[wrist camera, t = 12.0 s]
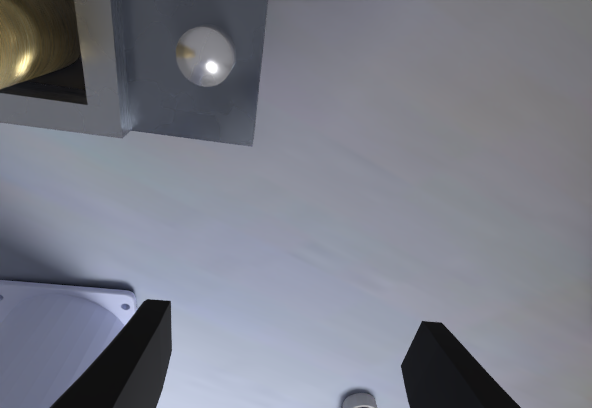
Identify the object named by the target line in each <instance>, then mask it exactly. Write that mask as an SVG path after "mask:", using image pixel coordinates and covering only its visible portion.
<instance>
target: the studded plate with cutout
mask: <svg viewBox="0 0 592 408" xmlns="http://www.w3.org/2000/svg"><path fill="white" fill-rule="evenodd" d="M74 3H75V11H76V18H77V26H78V34H79V41H80V49H81V57H82V65H83V72H84V80H85V88H86V90H82V89H76V88H69V87H62V86H55V85H48V84H41V83H34V82H27V81H24V82H21V83H18V84H15V85H12V86H9V87H6V88H3V89H0V123H8V124H16V125H24V126H31V127H39V128H47V129H54V130H62V131H70V132H77V133H85V134H93V135H101V136H108V137H116V138H123V137H124V136H125V135H126V134H127V133H129V132H130V131H139V132H146V133H154V134H161V135H169V136H176V137H184V138H191V139H199V140H206V141H214V142H222V143H229V144H237V145H244V146H252V145H253V139H254V130H255V120H256V111H257V101H258V91H259V82H260V72H261V63H262V53H263V44H264V34H265V25H266V15H267V5H268V0H74Z"/></svg>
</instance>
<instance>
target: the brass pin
mask: <svg viewBox="0 0 592 408" xmlns="http://www.w3.org/2000/svg"><path fill="white" fill-rule="evenodd" d="M80 55H81V49H80V41H79V34H78V26H77V18H76V11H75V3H74V0H0V89H3V88H6V87H9V86H12V85H15V84H18V83H21V82H24V81H27V80H30V79H33V78H36V77H39V76H42V75H45V74H48V73H51V72H53V71H56V70H59V69H62V68H65V67H68V66H70V65H71V64H73V63H74V62H75V61H76V60H77V59H78V58H79V57H80Z"/></svg>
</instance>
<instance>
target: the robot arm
mask: <svg viewBox="0 0 592 408" xmlns="http://www.w3.org/2000/svg"><path fill="white" fill-rule="evenodd" d="M126 304H128V305H126ZM171 352H172V340H171V301H163V300H150V299H147V300H146V301H144V302H143V303H142V305H141V306H140V307H139V308H138V310H137V308H136V297H135V295H134V293H133V292H131V291H128V290H117V289H105V288H93V287H81V286H68V285H56V284H44V283H32V282H20V281H7V280H0V408H156V406H157V403H158V401H159V398H160V395H161V392H162V389H163V385H164V381H165V377H166V373H167V369H168V365H169V360H170V356H171ZM401 368H402V373H403V379H404V384H405V389H406V393H407V398H408V402H409V405H410V408H521V407H520V406H519V405H518V404H517V403H516V402H515V401H514V400H513V399H512V398H511V397H510V396H509V395H508V394H507V393H506V392H505V391H504V390H503V389H502V388H501V387H500V386H499V384H498V383H497V382H496V381H495V380H494V379H493V378H492V377H491V376H490V375H489V374H488V373H487V372H486V370H485V369H484V368H483V367H482V366H481V365H480V364H479V363H478V362H477V361H476V359H475V358H474V357H473V356H472V355H471V354H470V353H469V352H468V351H467V350H466V348H465V347H464V346H463V345H462V344H461V343H460V342H459V341H458V340H457V339H456V337H455V336H454V335H453V334H452V333H451V332H450V331H449V330H448V329H447V328H446V327H445V326H444V325H443V324H442V323H439V322H426V321H422V322H421V325H420V327H419V329H418V331H417V333H416V335H415V337H414V339H413V341H412V344H411V346H410V348H409V350H408V352H407V354H406V356H405V358H404V360H403V363H402V365H401Z"/></svg>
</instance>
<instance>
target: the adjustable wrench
mask: <svg viewBox="0 0 592 408" xmlns="http://www.w3.org/2000/svg"><path fill="white" fill-rule="evenodd" d="M358 407H366V408H377V405H376V401H375V398H374V397H373V396H372V395H370V394H367V393H356V394H352V395H350V396H348V397H347V398H346V399H345V400H344V402H343V407H342V408H358Z"/></svg>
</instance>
